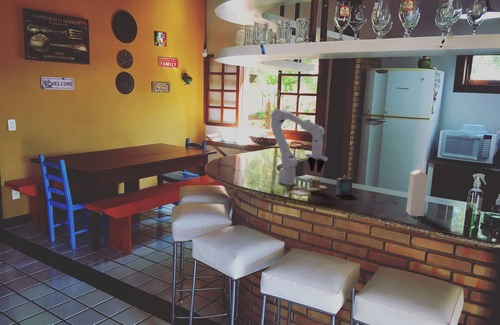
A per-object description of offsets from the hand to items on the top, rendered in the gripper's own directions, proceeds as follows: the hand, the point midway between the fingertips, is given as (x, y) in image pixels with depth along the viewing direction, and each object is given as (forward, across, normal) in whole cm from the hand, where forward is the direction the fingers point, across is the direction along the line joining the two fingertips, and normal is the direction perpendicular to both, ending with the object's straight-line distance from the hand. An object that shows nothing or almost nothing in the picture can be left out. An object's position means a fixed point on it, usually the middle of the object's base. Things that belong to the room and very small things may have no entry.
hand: (315, 171), depth 223 cm
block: (+10, 0, 0) cm, 10 cm away
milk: (+10, +60, +1) cm, 61 cm away
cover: (+8, 0, -9) cm, 12 cm away
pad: (+9, +5, -17) cm, 20 cm away
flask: (+10, +19, +2) cm, 21 cm away
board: (+9, 0, -4) cm, 10 cm away
